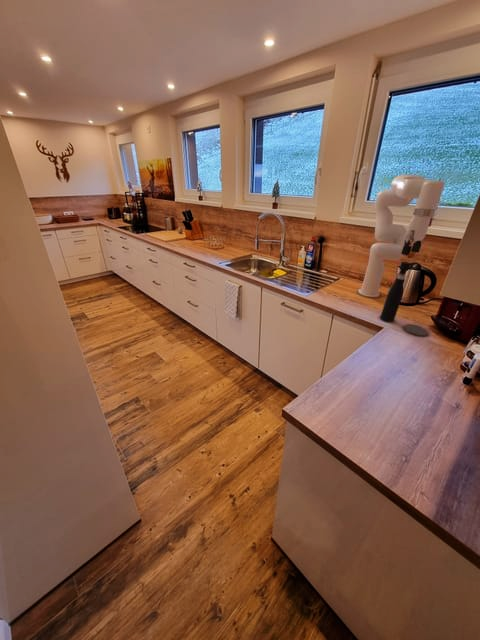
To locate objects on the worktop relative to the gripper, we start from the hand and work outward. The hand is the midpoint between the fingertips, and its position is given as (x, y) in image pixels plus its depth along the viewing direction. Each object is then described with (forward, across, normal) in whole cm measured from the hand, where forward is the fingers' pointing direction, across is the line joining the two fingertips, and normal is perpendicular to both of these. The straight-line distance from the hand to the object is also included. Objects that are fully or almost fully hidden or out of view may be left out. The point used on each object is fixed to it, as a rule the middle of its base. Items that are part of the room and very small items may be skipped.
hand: (409, 253), depth 120 cm
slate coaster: (+35, 0, +14) cm, 37 cm away
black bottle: (+35, 0, 0) cm, 35 cm away
